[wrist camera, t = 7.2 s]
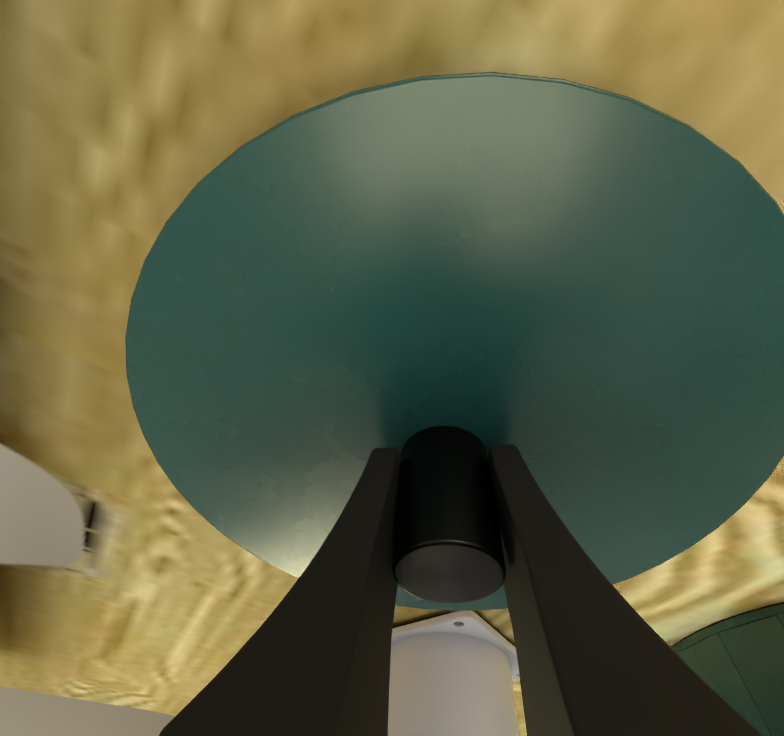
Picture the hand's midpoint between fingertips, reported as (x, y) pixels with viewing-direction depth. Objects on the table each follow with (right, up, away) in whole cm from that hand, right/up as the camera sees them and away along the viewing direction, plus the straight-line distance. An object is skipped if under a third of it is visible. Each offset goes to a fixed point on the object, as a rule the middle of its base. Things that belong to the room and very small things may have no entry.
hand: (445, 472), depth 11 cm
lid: (0, +1, +1) cm, 1 cm away
